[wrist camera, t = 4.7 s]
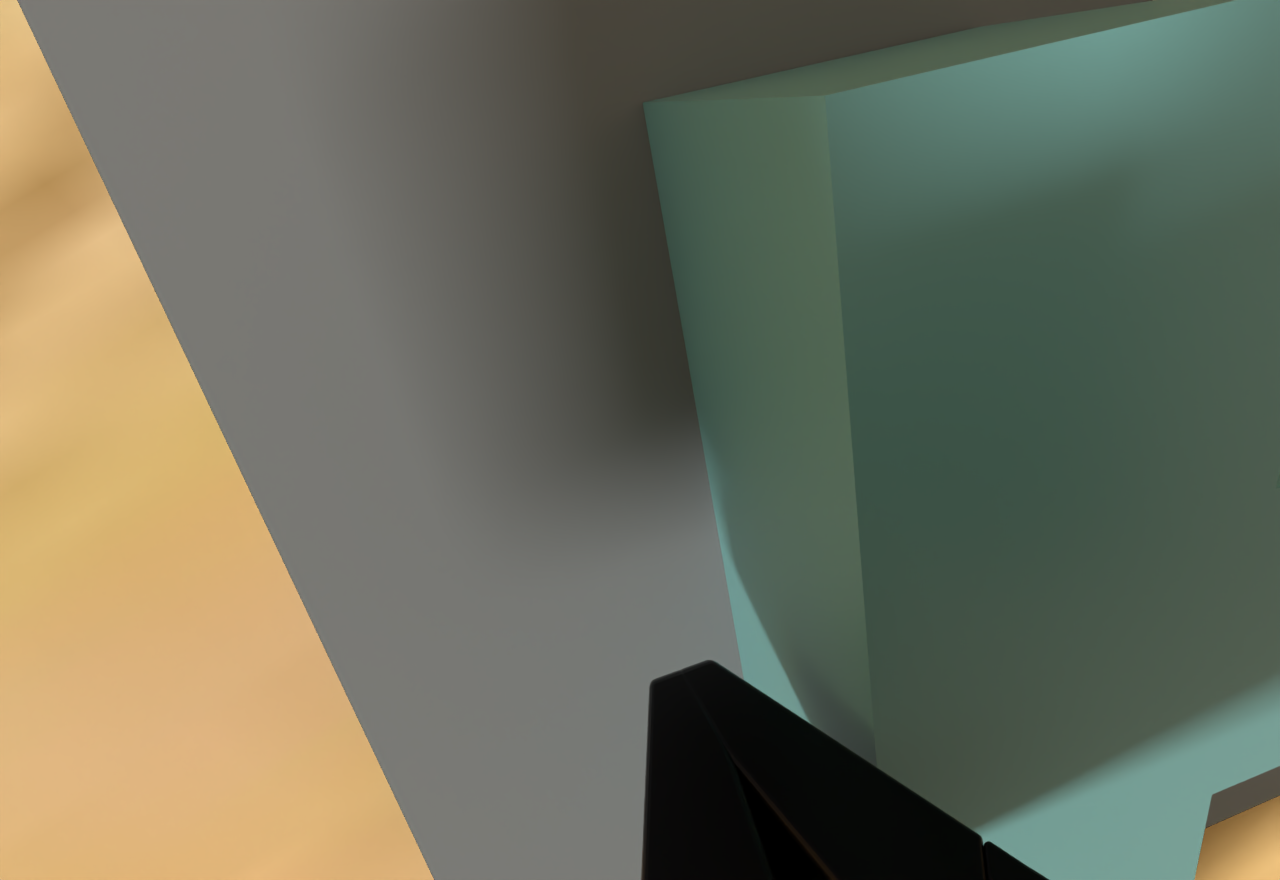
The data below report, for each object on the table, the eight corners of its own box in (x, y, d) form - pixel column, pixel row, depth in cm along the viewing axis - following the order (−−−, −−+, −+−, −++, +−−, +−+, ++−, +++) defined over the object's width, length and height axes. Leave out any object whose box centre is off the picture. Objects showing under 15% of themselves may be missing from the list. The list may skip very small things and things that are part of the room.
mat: (1535, 658, 19) (1564, 672, 19) (543, 1088, 15) (547, 1121, 14) (2113, -651, 10) (2203, -691, 9) (-202, -523, 5) (-263, -584, 5)
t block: (1333, 626, 15) (1616, 786, 11) (772, 847, 13) (904, 1120, 10) (1529, -97, 10) (2168, -218, 6) (641, 102, 8) (825, 96, 4)
